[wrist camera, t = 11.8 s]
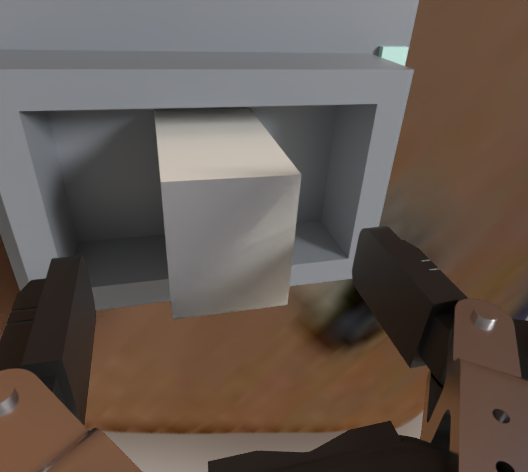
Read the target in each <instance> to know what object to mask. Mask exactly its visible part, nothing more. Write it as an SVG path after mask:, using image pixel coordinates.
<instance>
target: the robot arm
mask: <svg viewBox="0 0 528 472" xmlns="http://www.w3.org/2000/svg"><path fill="white" fill-rule="evenodd" d="M352 278H353V283H354V285H355V287H356V289H357V291H358V292H359V294H360V295H361V296H362V298H363V299H364V301H365V302H366V304H367V305H368V307H369V308H370V310H371V311H372V313H373V314H374V316H375V317H376V319H377V320H378V322H379V323H380V325H381V326H382V327H383V329H384V330H385V332H386V333H387V335H388V336H389V338H390V339H391V341H392V342H393V344H394V345H395V347H396V348H397V350H398V351H399V353H400V354H401V356H402V357H403V358H404V360H405V361H406V363H407V364H408V366H409V367H410V368H413V367H418V366H424V365H427V367H428V368H429V369H430V371H429V374H428V376H427V381H426V391H425V401H424V411H423V421H422V430H421V436H420V439H417V438H413V437H408V436H402V435H398V434H397V432H396V430H395V428H394V426H393V425H392V423H391V421H387V422H383V423H378V424H374V425H369V426H365V427H360V428H356V429H351V430H348V431H347V432H345V433H343V434H341V435H339V436H338V437H336V438H334V439H332V440H330V441H329V442H327V443H325V444H323V445H321V446H320V447H318V448H316V449H314V450H312V451H310V452H303V453H302V452H277V451H253V452H249V453H245V454H240V455H235V456H231V457H227V458H222V459H218V460H213V461H209V462H208V472H528V321H525V320H515V319H511V317H510V316H509V315H508V314H507V313H506V312H505V311H504V310H502V309H501V308H499V307H498V306H496V305H494V304H492V303H490V302H487V301H484V300H480V299H468V298H467V297H466V296H465V295H464V294H463V293H462V292H461V291H460V290H459V289H458V288H457V287H456V286H455V285H454V284H453V283H452V282H451V281H450V280H449V279H448V278H447V277H446V276H445V275H444V274H443V273H442V271H441V270H438V267H437V266H436V265H435V264H434V263H433V262H432V261H429V258H428V257H427V256H426V255H425V254H424V253H423V252H422V251H421V250H420V249H419V248H417V247H415V246H413V245H412V244H410V243H408V242H406V241H405V240H401V239H400V238H399V237H398V236H397V235H396V234H395V233H394V232H393V231H392V230H391V229H390V228H389V227H387V226H382V227H372V228H363V229H362V230H361V231H360V234H359V238H358V242H357V247H356V252H355V257H354V262H353V267H352ZM95 323H96V310H95V302H94V297H93V292H92V288H91V283H90V279H89V274H88V270H87V266H86V261H85V258H84V256H83V255H81V256H71V257H61V258H52V259H51V262H50V265H49V269H48V272H47V276H46V278H44V279H35V280H31V281H30V282H29V283H28V284H27V285H26V286H25V287H24V288H23V289H22V290H21V291H20V292H19V293H18V294H17V296H16V299H15V302H14V305H13V308H12V313H10V316H9V319H8V322H7V326H6V327H5V330H4V333H3V336H2V339H1V341H0V472H142V471H141V470H140V469H139V468H138V467H137V466H136V465H135V464H134V463H133V462H132V461H131V460H130V459H129V458H128V457H127V456H126V455H125V453H123V451H122V450H120V448H119V447H118V446H117V445H116V444H115V443H114V442H113V441H112V440H111V439H110V438H109V437H108V436H107V435H106V434H105V433H103V432H102V431H101V430H99V429H97V428H94V429H92V430H91V431H90V430H88V429H87V428H86V427H85V426H84V423H85V414H86V405H87V396H88V387H89V378H90V369H91V360H92V351H93V342H94V332H95Z"/></svg>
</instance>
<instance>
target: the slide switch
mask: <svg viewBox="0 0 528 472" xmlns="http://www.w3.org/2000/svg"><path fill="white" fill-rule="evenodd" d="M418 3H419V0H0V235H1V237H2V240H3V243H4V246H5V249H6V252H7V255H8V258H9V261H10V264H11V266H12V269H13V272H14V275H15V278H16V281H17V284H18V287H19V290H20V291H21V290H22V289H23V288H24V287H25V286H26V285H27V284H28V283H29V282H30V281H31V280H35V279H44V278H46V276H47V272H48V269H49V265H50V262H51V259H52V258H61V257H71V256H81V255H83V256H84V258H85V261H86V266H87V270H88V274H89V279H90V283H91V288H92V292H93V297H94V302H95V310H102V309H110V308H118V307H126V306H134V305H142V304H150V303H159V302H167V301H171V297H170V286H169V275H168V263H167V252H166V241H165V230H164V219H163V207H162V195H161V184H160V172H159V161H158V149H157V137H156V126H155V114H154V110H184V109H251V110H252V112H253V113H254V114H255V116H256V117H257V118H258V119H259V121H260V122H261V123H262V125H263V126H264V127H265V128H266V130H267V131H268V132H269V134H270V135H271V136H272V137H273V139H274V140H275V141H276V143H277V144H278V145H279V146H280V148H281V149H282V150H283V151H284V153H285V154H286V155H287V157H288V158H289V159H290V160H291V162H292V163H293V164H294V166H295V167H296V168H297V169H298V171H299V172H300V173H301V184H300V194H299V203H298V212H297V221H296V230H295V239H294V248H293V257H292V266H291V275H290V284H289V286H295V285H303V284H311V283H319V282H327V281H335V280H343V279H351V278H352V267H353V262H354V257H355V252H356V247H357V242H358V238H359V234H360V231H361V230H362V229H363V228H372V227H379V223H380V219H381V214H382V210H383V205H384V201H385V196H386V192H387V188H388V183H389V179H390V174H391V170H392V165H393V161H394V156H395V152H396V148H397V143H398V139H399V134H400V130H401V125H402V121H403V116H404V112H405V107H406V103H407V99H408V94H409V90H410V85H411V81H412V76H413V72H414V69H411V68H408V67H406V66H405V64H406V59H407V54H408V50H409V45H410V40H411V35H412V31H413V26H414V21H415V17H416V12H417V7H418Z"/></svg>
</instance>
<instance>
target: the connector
mask: <svg viewBox="0 0 528 472" xmlns="http://www.w3.org/2000/svg"><path fill="white" fill-rule="evenodd" d="M154 114H155V126H156V137H157V149H158V161H159V172H160V184H161V195H162V207H163V219H164V230H165V241H166V252H167V263H168V275H169V286H170V297H171V308H172V319H180V318H188V317H196V316H203V315H211V314H219V313H227V312H234V311H242V310H250V309H258V308H266V307H273V306H281V305H287V303H288V294H289V284H290V275H291V266H292V257H293V248H294V239H295V230H296V221H297V212H298V203H299V194H300V184H301V173H300V172H299V171H298V169H297V168H296V167H295V166H294V164H293V163H292V162H291V160H290V159H289V158H288V157H287V155H286V154H285V153H284V151H283V150H282V149H281V148H280V146H279V145H278V144H277V143H276V141H275V140H274V139H273V137H272V136H271V135H270V134H269V132H268V131H267V130H266V128H265V127H264V126H263V125H262V123H261V122H260V121H259V119H258V118H257V117H256V116H255V114H254V113H253V112H252V110H251V109H184V110H154Z"/></svg>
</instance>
